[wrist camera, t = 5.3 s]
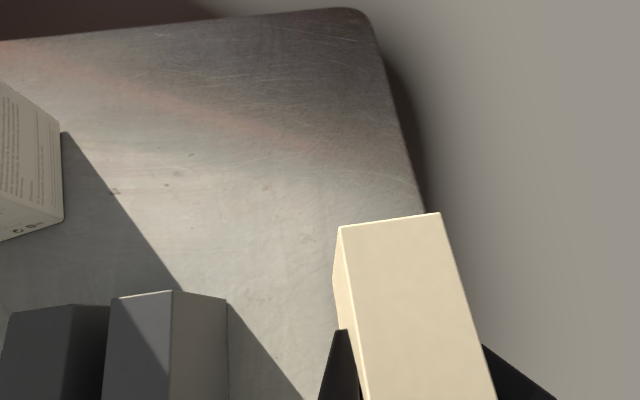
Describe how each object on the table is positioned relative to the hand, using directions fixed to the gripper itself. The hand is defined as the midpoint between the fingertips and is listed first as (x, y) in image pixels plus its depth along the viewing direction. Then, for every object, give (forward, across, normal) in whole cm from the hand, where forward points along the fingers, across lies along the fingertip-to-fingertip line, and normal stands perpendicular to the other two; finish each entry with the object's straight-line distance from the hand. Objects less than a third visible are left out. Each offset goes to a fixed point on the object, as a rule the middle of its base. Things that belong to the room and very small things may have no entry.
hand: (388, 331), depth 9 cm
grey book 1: (+6, +9, +8) cm, 13 cm away
